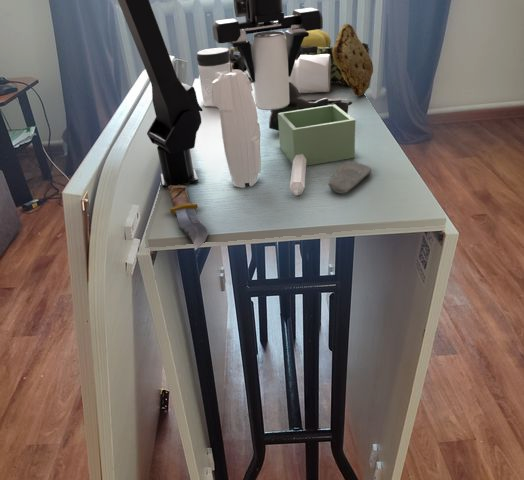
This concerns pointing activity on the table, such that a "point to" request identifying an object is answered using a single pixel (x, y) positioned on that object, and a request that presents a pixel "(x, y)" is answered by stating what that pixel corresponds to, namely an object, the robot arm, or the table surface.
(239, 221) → the table surface
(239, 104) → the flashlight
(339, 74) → the toy car
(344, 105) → the cat figurine
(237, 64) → the toy
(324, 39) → the toy
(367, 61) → the pastry
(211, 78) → the jar
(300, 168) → the marker
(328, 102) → the pen
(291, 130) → the bin
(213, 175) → the table surface
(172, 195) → the knife
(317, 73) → the vase
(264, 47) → the can
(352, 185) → the stone
